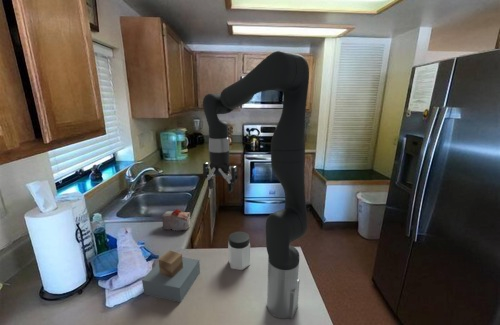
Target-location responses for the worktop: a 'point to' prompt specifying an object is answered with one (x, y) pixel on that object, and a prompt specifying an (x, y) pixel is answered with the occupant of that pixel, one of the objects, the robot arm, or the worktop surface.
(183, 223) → the food item
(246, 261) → the jar
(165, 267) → the walnut cube
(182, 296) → the slate block
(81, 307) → the worktop surface
